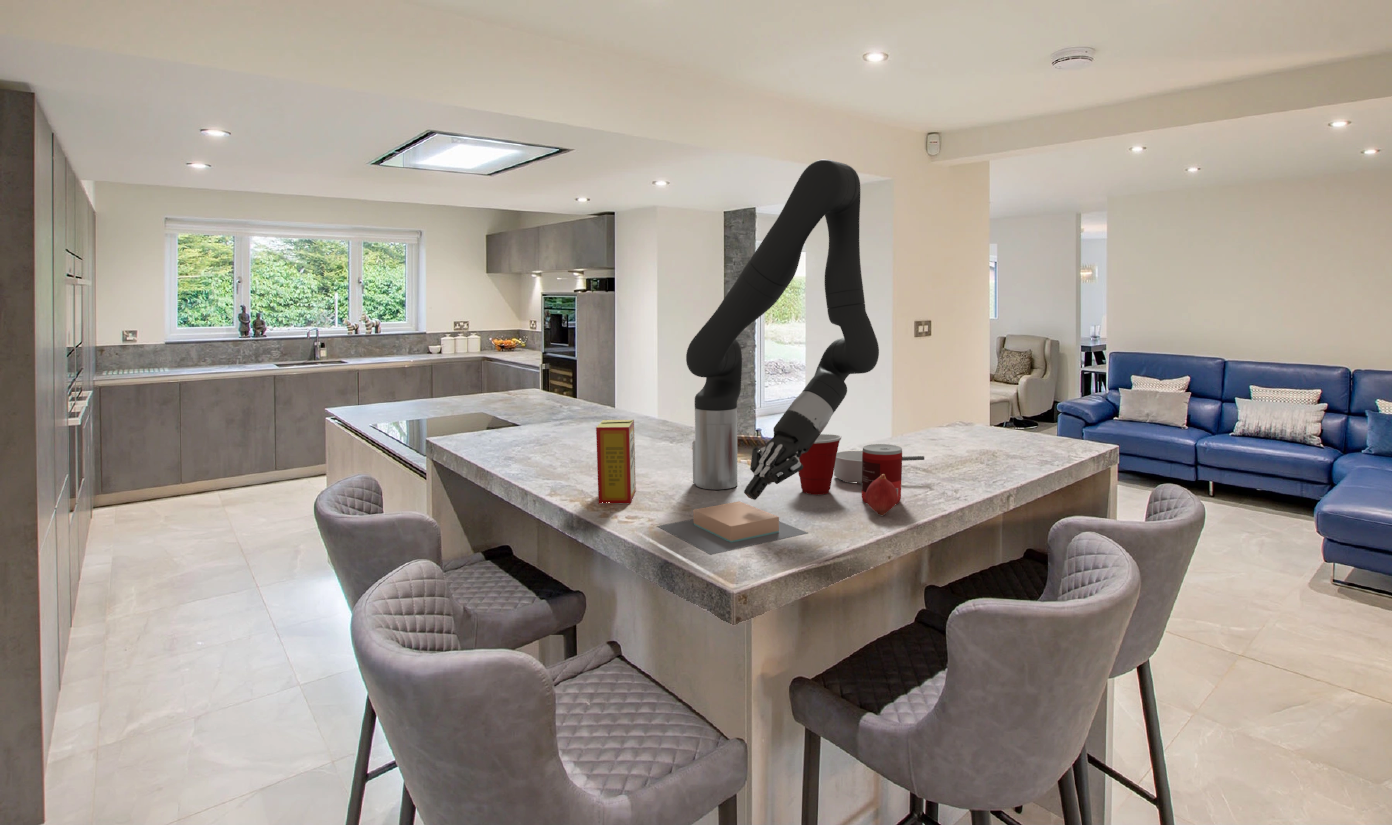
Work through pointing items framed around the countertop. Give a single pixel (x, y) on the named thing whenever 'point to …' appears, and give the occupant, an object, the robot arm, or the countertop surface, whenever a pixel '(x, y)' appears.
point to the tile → (736, 521)
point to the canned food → (881, 466)
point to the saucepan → (855, 465)
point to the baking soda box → (616, 461)
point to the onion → (881, 495)
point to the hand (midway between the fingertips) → (749, 496)
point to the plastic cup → (819, 465)
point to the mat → (717, 544)
